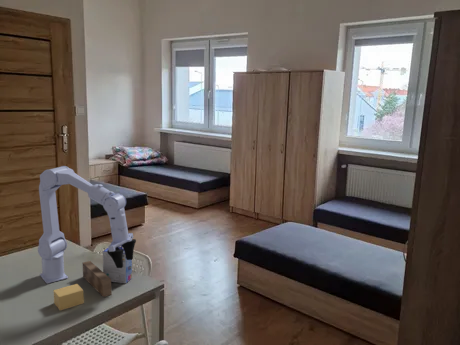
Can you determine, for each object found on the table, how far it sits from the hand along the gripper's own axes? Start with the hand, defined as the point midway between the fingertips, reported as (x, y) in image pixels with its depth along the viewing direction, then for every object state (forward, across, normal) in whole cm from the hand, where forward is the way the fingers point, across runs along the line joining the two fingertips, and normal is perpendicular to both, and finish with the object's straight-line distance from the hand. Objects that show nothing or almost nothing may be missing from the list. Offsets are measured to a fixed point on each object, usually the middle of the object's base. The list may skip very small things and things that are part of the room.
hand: (124, 263), depth 147 cm
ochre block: (+8, -14, +15) cm, 22 cm away
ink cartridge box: (+9, +7, +8) cm, 14 cm away
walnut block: (+8, 0, +13) cm, 16 cm away
